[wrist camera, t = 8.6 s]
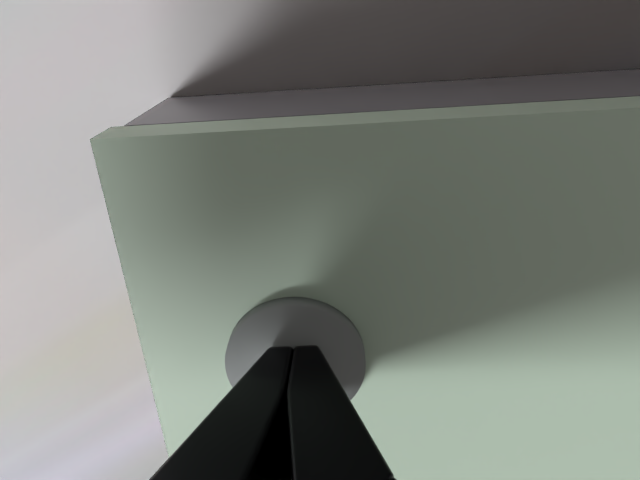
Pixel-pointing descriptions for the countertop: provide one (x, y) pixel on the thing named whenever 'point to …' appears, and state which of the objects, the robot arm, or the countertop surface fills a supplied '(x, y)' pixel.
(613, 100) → the cover
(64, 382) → the countertop surface
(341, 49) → the countertop surface
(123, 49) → the countertop surface
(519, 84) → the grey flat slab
